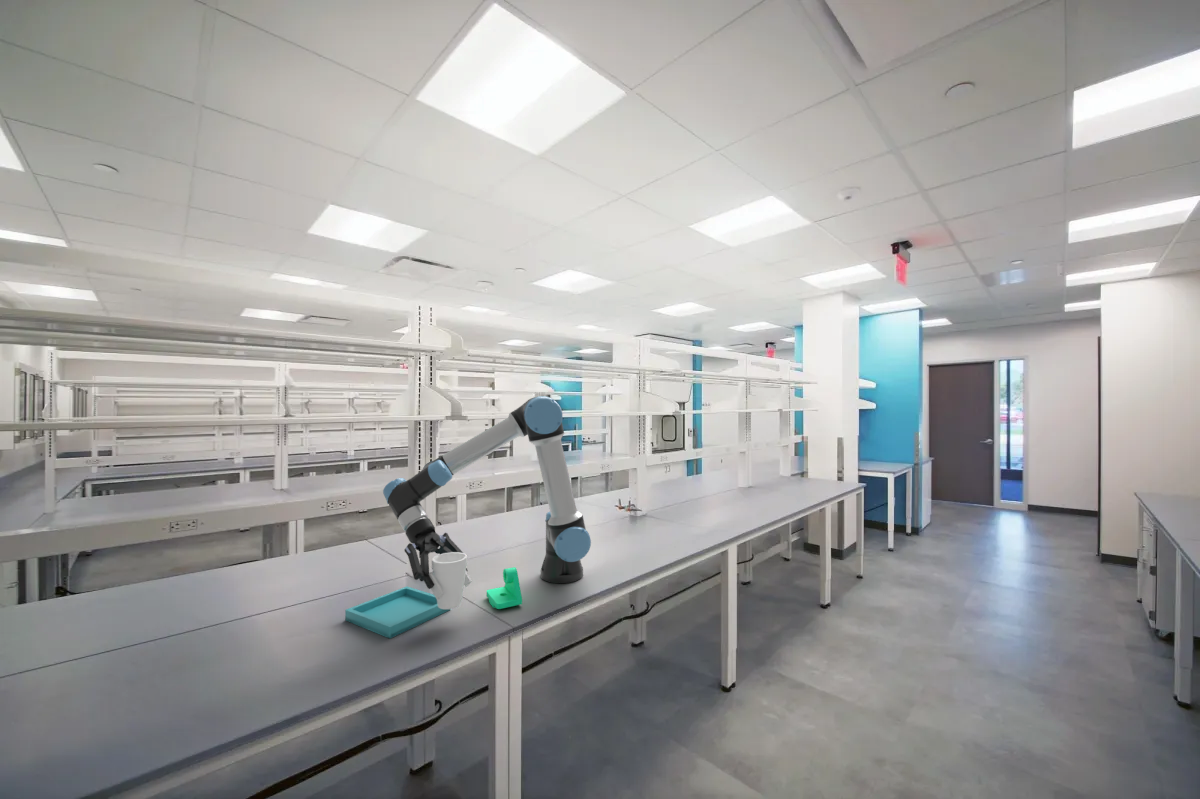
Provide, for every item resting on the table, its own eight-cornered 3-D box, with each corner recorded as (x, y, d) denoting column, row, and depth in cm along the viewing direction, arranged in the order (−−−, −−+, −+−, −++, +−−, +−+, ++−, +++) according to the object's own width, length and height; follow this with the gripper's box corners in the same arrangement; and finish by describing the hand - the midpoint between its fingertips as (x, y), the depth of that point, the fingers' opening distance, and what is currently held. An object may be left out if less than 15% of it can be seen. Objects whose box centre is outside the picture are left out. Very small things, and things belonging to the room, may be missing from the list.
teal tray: (406, 595, 149) (406, 586, 149) (450, 609, 138) (450, 599, 138) (345, 620, 131) (345, 609, 132) (390, 638, 121) (390, 627, 121)
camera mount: (485, 598, 147) (485, 565, 147) (508, 593, 151) (509, 561, 151) (497, 613, 137) (497, 578, 137) (522, 607, 141) (522, 573, 141)
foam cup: (455, 594, 136) (455, 550, 136) (474, 603, 130) (474, 556, 131) (425, 605, 129) (425, 558, 129) (444, 615, 123) (443, 565, 123)
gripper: (441, 524, 148) (477, 584, 139) (376, 542, 129) (415, 613, 121) (452, 509, 145) (490, 569, 137) (388, 525, 126) (428, 596, 118)
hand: (455, 590), depth 129 cm, fingers closed on foam cup, 9 cm apart
